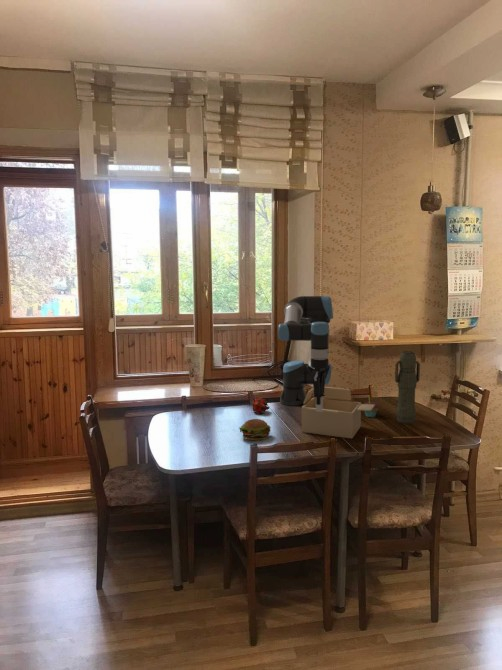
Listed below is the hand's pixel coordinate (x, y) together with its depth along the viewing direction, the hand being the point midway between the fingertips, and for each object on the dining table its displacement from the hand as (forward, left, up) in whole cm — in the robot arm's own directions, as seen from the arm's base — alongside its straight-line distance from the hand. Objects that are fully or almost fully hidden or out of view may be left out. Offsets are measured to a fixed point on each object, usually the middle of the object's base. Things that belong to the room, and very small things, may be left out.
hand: (319, 411), depth 225 cm
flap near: (0, +11, -3) cm, 12 cm away
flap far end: (+13, +21, -3) cm, 25 cm away
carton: (0, +21, -15) cm, 26 cm away
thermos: (+31, +47, -15) cm, 58 cm away
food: (-30, -2, -15) cm, 34 cm away
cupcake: (+13, +49, -15) cm, 53 cm away
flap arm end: (-13, +21, -3) cm, 25 cm away
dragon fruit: (-42, +33, -15) cm, 56 cm away
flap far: (0, +31, -3) cm, 31 cm away
